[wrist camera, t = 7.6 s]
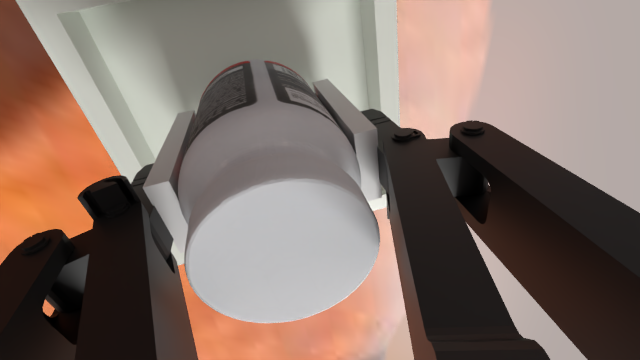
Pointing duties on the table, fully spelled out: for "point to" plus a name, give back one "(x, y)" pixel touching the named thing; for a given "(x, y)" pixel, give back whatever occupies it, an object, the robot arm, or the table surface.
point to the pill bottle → (272, 199)
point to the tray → (207, 58)
